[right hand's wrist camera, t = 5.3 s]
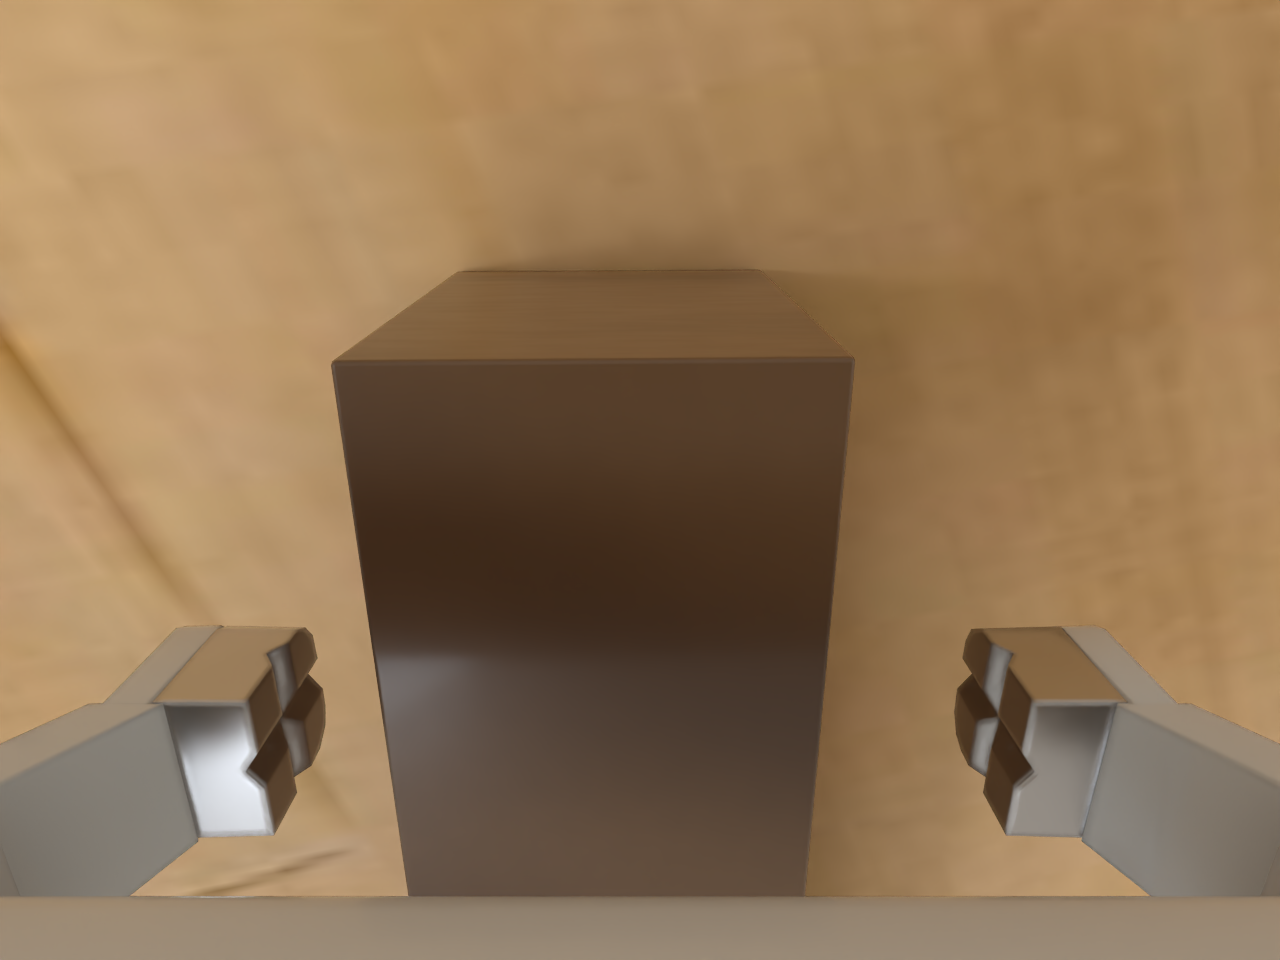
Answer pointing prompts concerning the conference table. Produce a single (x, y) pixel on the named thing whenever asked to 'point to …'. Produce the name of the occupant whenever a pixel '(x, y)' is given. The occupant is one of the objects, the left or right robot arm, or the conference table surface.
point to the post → (599, 577)
